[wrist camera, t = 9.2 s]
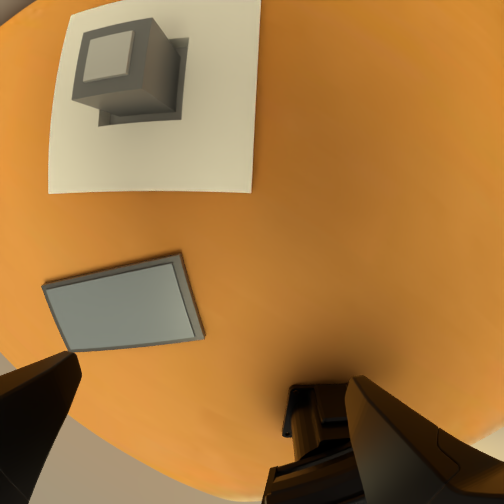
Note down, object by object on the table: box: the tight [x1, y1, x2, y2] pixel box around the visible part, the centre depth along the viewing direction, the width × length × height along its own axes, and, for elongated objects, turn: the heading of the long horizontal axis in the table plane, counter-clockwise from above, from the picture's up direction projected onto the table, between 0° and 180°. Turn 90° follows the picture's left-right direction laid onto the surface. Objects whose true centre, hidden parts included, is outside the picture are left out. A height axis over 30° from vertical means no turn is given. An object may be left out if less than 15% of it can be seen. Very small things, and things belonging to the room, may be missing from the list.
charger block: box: [71, 17, 181, 117], centre depth 13 cm, size 4×4×6 cm
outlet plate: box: [48, 0, 261, 194], centre depth 16 cm, size 14×14×2 cm
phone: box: [41, 253, 206, 352], centre depth 21 cm, size 6×13×1 cm, turn 102°
